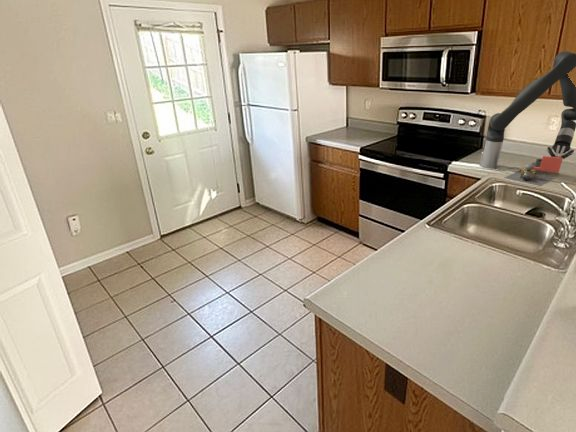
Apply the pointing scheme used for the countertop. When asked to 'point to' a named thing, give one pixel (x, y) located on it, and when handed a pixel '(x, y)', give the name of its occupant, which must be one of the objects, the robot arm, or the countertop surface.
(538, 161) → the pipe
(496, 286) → the countertop surface
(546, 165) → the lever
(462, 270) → the countertop surface
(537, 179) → the mat
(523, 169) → the valve body
